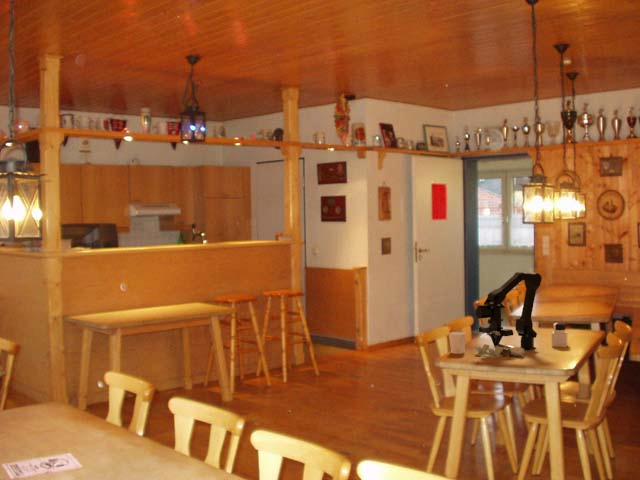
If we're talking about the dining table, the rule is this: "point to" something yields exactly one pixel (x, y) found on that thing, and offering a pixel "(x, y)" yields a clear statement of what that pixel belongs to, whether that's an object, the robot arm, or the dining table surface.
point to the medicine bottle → (559, 335)
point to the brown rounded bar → (512, 350)
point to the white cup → (457, 342)
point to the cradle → (492, 353)
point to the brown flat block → (505, 352)
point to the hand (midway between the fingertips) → (495, 347)
